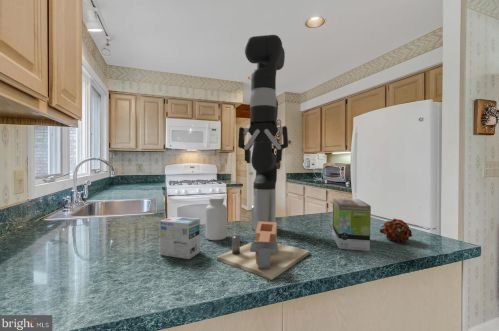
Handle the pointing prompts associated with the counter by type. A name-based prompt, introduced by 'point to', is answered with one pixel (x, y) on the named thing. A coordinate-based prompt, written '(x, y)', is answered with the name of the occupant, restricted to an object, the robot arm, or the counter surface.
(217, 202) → the pill bottle
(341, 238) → the tea box
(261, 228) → the link
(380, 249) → the counter surface
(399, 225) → the pine cone
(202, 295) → the counter surface
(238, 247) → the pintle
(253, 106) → the robot arm
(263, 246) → the block
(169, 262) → the counter surface
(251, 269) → the board
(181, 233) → the light bulb box
